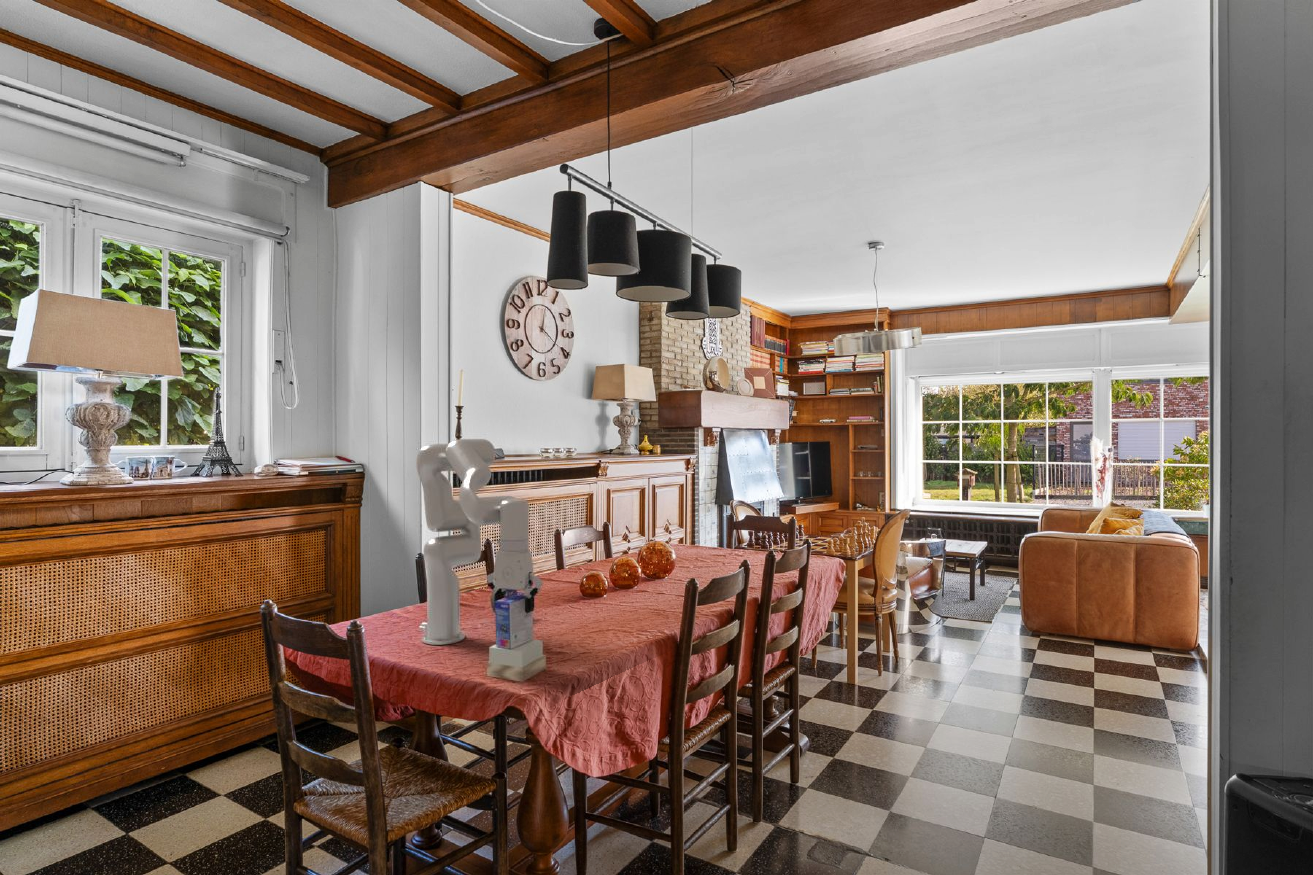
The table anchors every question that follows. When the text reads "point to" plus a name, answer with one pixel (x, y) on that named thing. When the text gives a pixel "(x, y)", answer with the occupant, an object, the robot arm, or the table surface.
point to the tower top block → (516, 654)
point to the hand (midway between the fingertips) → (514, 609)
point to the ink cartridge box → (512, 621)
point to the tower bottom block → (516, 670)
